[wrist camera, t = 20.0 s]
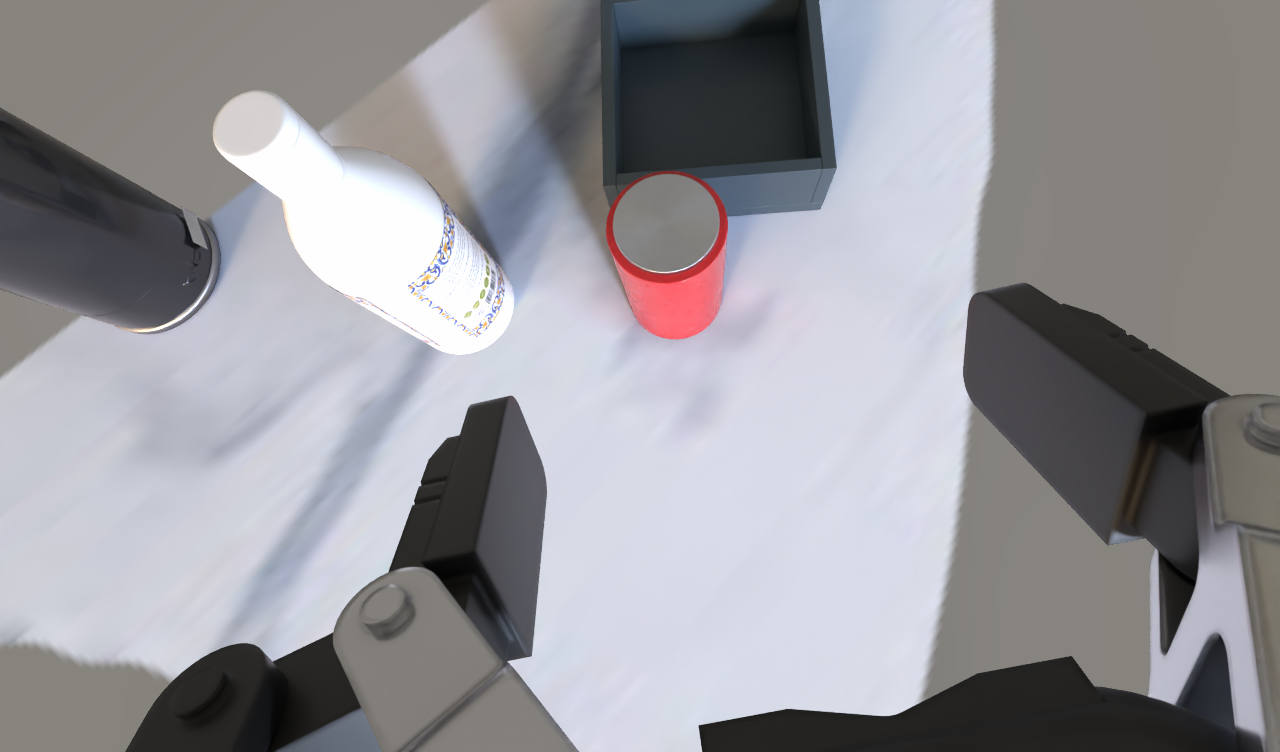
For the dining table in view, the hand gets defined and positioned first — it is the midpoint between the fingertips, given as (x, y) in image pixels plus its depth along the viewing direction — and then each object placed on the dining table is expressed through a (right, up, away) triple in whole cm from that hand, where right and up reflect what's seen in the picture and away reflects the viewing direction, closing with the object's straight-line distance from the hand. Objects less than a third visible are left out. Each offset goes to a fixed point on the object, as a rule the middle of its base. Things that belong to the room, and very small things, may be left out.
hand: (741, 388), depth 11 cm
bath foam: (-13, +5, +30) cm, 33 cm away
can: (+1, +5, +28) cm, 29 cm away
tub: (+3, +17, +31) cm, 36 cm away
